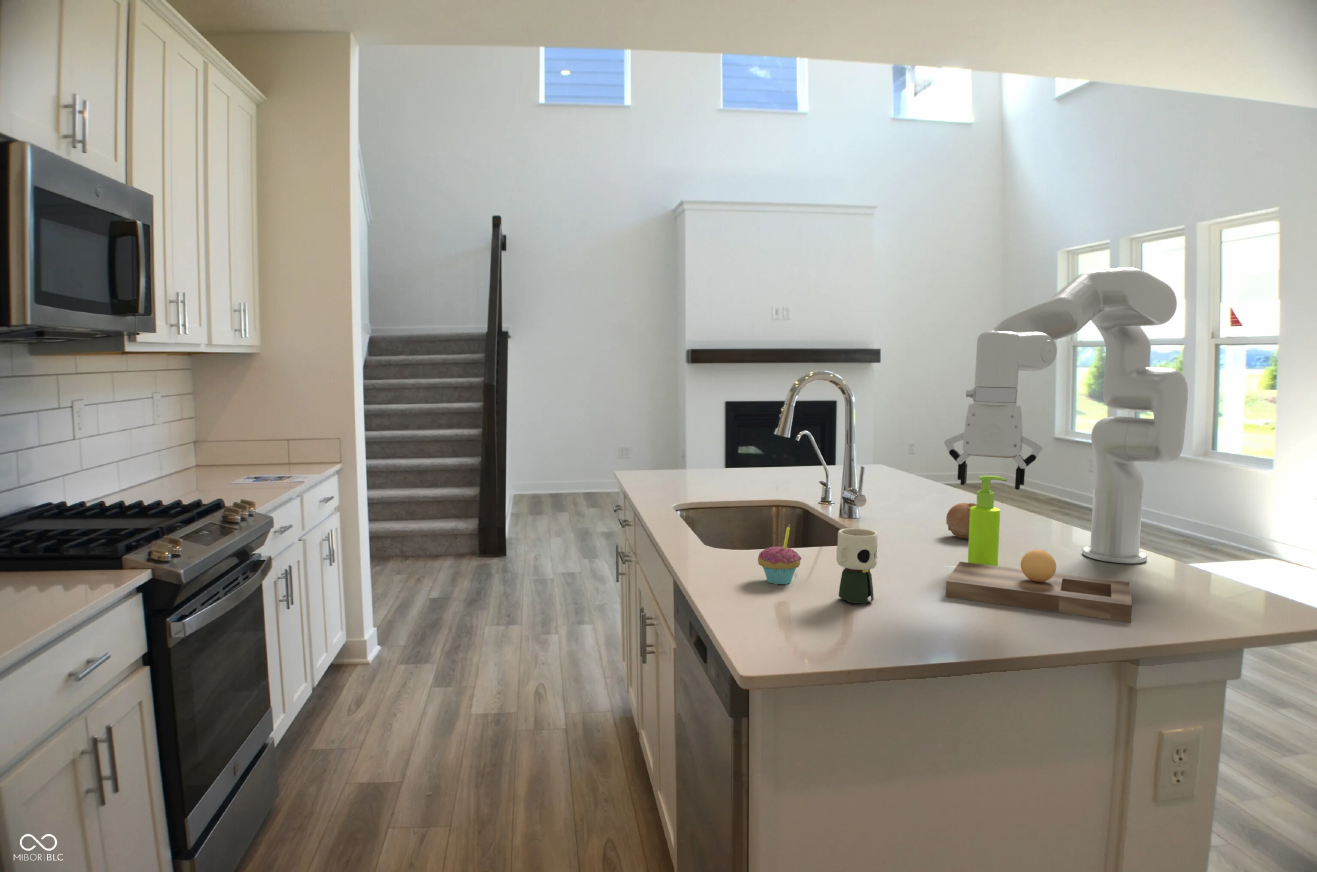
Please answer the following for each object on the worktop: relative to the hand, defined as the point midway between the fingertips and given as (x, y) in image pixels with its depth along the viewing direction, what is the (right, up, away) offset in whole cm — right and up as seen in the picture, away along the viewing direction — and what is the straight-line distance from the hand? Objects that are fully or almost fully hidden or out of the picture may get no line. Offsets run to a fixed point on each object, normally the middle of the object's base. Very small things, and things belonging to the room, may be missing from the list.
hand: (990, 486), depth 151 cm
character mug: (-27, -21, -5) cm, 35 cm away
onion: (+13, -16, +45) cm, 50 cm away
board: (+8, -21, -3) cm, 22 cm away
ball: (+8, -15, -3) cm, 17 cm away
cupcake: (-39, -20, +7) cm, 45 cm away
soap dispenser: (+6, -19, +16) cm, 26 cm away
